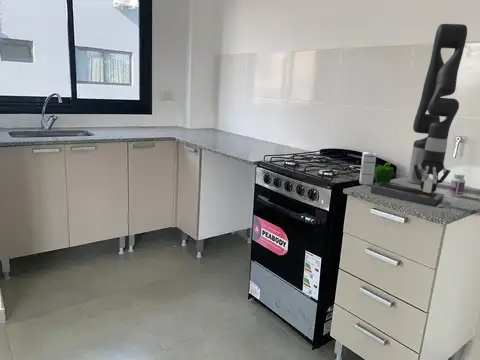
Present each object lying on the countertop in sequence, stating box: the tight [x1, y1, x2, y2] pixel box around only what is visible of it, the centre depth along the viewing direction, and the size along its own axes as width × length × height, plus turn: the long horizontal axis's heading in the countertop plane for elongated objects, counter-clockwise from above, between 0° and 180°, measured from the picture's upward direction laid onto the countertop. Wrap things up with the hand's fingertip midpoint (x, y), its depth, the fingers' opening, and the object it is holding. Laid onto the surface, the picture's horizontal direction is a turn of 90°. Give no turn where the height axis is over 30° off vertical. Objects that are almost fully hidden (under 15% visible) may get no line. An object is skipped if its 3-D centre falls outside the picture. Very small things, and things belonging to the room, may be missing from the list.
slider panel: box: [370, 182, 445, 208], centre depth 164 cm, size 12×26×4 cm, turn 51°
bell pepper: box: [374, 162, 395, 184], centre depth 186 cm, size 8×8×10 cm
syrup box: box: [358, 151, 377, 186], centre depth 182 cm, size 6×6×14 cm
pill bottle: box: [448, 172, 466, 198], centre depth 171 cm, size 5×5×10 cm
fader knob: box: [423, 178, 433, 194], centre depth 159 cm, size 4×3×5 cm
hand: (427, 191), depth 159 cm, fingers closed on fader knob, 3 cm apart
